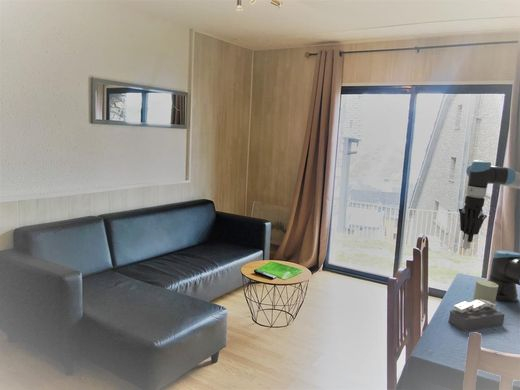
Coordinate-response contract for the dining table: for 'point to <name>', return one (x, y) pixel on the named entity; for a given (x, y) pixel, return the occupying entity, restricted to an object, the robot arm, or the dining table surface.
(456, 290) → the dining table surface
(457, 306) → the rocker
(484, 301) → the rocker
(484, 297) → the can
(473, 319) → the rocker switch panel
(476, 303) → the rocker
